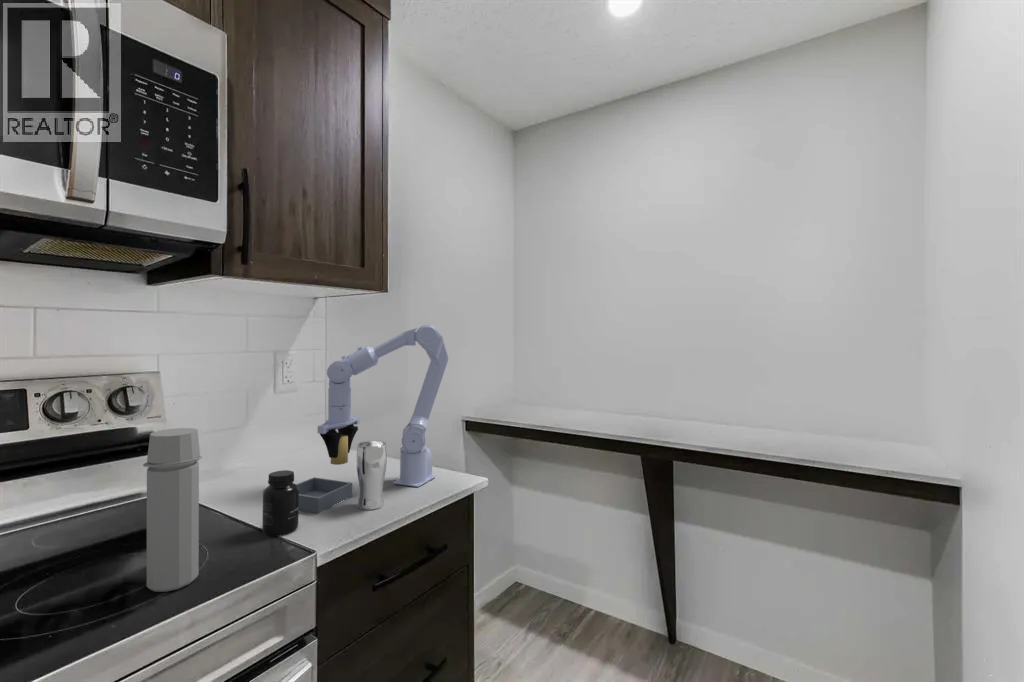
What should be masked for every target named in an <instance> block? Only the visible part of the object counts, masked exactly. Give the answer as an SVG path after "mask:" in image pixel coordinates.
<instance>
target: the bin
mask: <svg viewBox="0 0 1024 682" xmlns="http://www.w3.org/2000/svg"><path fill="white" fill-rule="evenodd" d="M295 484H296V485H297V486H298V488H299V511H301V510H303V512H308V513H312V512H314V514H318V513H319V514H321V513H323V512H325V511H326V509H327V510H329V509H330V507H331V508H333V507H334V506H333V505H335V504H337V503H339V502H341V501H343V500H345V501H347V500H348V499H347V498H349V499H351V498H352V497H353V482H349V481H340V480H336V479H328V478H320V477H312V478H309V479H307V480H303V481H302V482H299V483H295ZM350 497H351V498H350ZM346 499H347V500H346ZM343 502H344V501H343ZM341 503H342V502H341ZM339 504H340V503H339ZM337 505H338V504H337ZM332 506H333V507H332ZM335 506H336V505H335ZM328 508H329V509H328ZM324 510H325V511H324ZM322 511H323V512H322ZM320 512H321V513H320Z"/></svg>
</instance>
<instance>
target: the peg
mask: <svg viewBox="0 0 1024 682" xmlns="http://www.w3.org/2000/svg"><path fill="white" fill-rule="evenodd" d="M348 462H349V453H348V436H347V435H341V437H340V441H339V446H338V456H337V458H330V464H331V465H336V466H337V465H345V464H348Z"/></svg>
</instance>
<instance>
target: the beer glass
mask: <svg viewBox="0 0 1024 682" xmlns="http://www.w3.org/2000/svg"><path fill="white" fill-rule="evenodd" d="M387 461H388V458H387V443H386V441H384V440H374V439H373V440H372V439H371V440H364V441H360V442H358V443H357V450H356V473H357V479H358V484H359V497H358V502H357V507H358V509H360V508H361V509H360V510H363V509H365V510H364V511H373V509H374V510H378V509H381V508H383V507H384V506H385V499H384V491H383V490H384V481H385V476H386V472H387V471H386V470H387V464H388V462H387ZM382 506H383V507H382Z"/></svg>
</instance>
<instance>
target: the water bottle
mask: <svg viewBox="0 0 1024 682" xmlns="http://www.w3.org/2000/svg"><path fill="white" fill-rule="evenodd" d="M148 441H149V442H148V449H147V456H146V462H144V463H143V464H142V466H143V467H144V468H147V469H146V588H147V589H148V590H150V591H152V592H154V593H155V592H157V593H159V592H160V593H162V592H164V593H166V592H172V591H175V590H179V589H181V588H185V587H186V586H188V585H190V584H191V583H192V582H193V581H195V580H196V579H197V578H198V576H199V572H200V571H199V570H200V569H199V566H200V565H199V561H200V558H199V554H200V553H199V546H200V545H199V544H200V543H199V541H200V540H199V538H200V537H199V536H200V535H199V534H200V533H199V532H200V531H199V530H200V529H199V527H200V526H199V525H200V522H199V521H200V517H199V515H200V505H199V504H200V502H199V501H200V482H199V481H200V460H201V459H202V458H203V456H202V455H201V449H200V441H199V432H198V429H197V428H192V427H190V428H189V427H180V428H179V427H178V428H168V429H167V428H166V429H161V430H157V431H153V432H151V433H150V434H149V440H148Z"/></svg>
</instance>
